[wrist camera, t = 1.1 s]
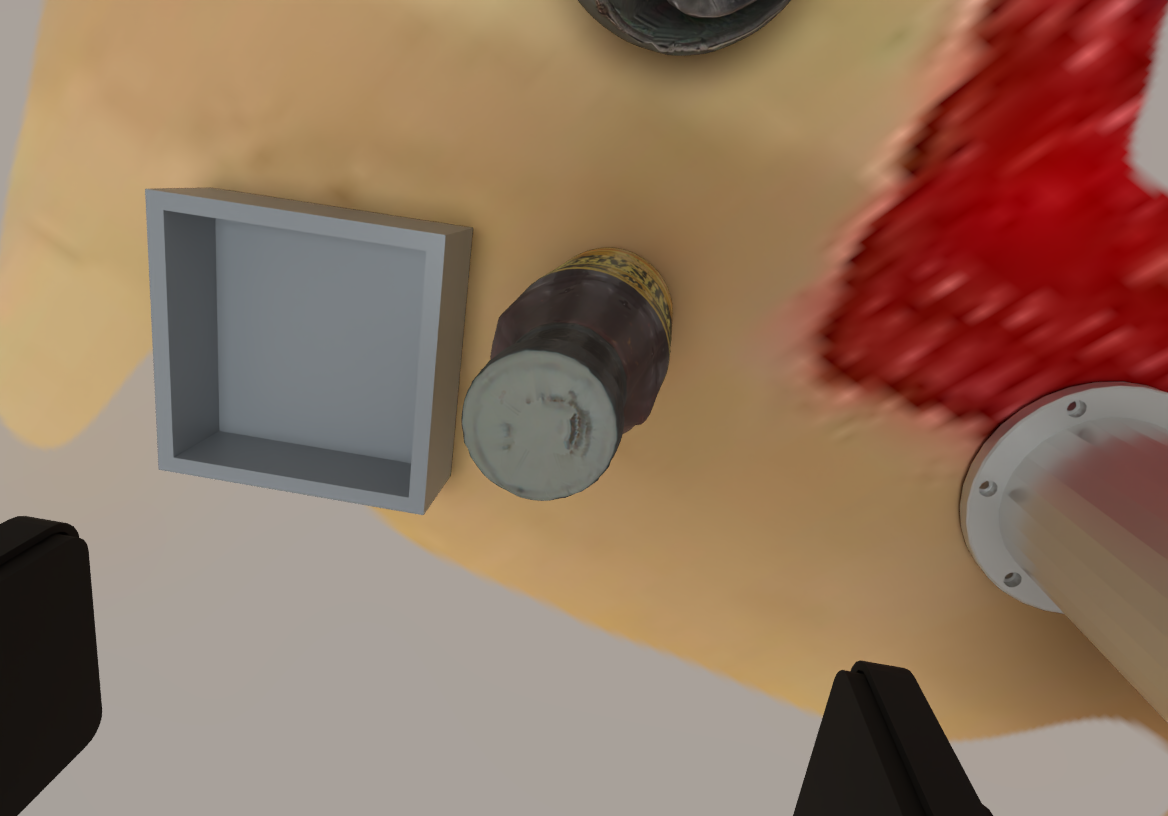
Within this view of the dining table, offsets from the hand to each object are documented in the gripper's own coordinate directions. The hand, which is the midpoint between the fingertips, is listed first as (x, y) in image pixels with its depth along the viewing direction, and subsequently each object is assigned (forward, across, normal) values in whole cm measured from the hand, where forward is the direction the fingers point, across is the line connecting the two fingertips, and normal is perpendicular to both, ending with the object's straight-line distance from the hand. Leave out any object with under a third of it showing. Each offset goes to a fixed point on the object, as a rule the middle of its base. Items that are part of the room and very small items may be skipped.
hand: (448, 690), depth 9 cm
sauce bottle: (+29, 0, 0) cm, 29 cm away
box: (+29, +14, +4) cm, 33 cm away
